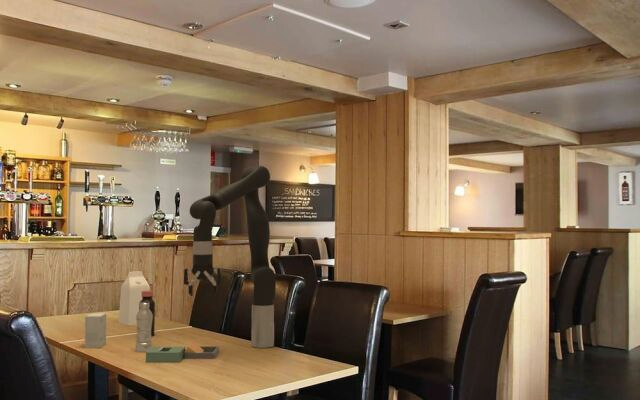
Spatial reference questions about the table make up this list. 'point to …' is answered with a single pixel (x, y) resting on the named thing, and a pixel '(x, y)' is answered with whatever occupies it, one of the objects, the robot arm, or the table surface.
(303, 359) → the table surface
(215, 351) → the tray
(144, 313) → the plastic bottle
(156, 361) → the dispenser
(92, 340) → the small box
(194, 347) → the tan wooden plank
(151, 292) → the vinegar
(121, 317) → the milk
